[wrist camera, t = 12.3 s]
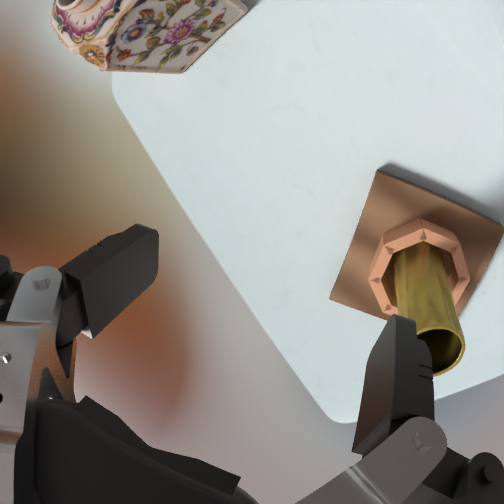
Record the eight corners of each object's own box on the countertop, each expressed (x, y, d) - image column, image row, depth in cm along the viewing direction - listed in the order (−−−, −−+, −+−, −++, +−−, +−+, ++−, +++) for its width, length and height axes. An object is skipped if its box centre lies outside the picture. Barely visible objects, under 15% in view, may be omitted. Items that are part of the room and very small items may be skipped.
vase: (454, 261, 30) (485, 347, 18) (419, 299, 34) (428, 391, 22) (415, 229, 31) (435, 305, 19) (380, 270, 34) (377, 358, 22)
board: (376, 169, 31) (377, 172, 30) (501, 224, 28) (505, 229, 27) (330, 292, 39) (329, 299, 38) (440, 332, 36) (442, 340, 35)
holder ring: (393, 207, 31) (395, 216, 28) (476, 242, 29) (483, 254, 26) (359, 288, 36) (357, 303, 33) (435, 316, 34) (438, 332, 31)
